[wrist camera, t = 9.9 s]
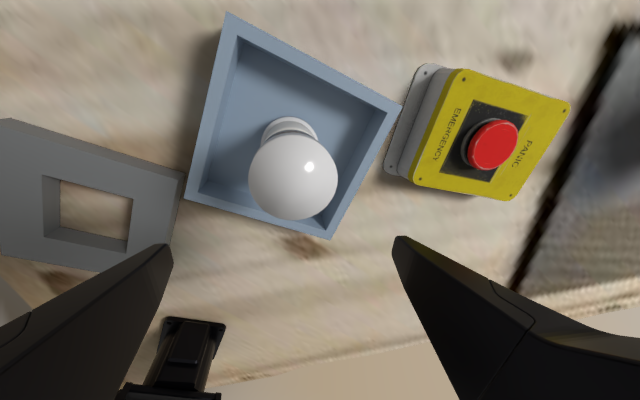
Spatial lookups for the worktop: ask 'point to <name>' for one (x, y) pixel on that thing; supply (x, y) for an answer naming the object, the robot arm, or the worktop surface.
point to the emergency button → (472, 132)
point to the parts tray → (271, 103)
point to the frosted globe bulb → (292, 171)
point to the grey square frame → (84, 169)
